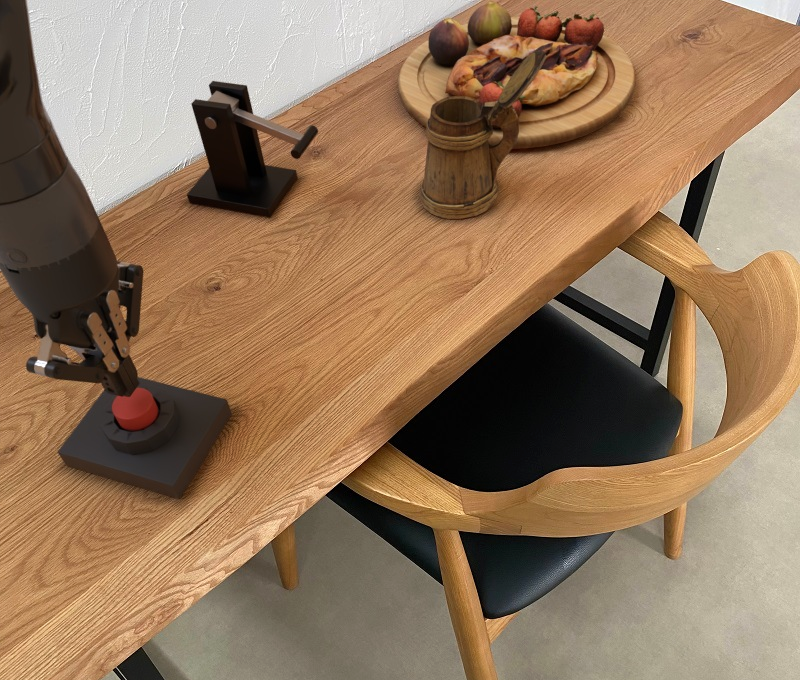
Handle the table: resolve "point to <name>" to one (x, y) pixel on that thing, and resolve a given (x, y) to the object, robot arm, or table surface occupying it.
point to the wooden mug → (471, 147)
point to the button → (135, 410)
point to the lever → (268, 125)
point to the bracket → (235, 159)
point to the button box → (149, 439)
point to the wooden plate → (501, 56)
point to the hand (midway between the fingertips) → (125, 389)
